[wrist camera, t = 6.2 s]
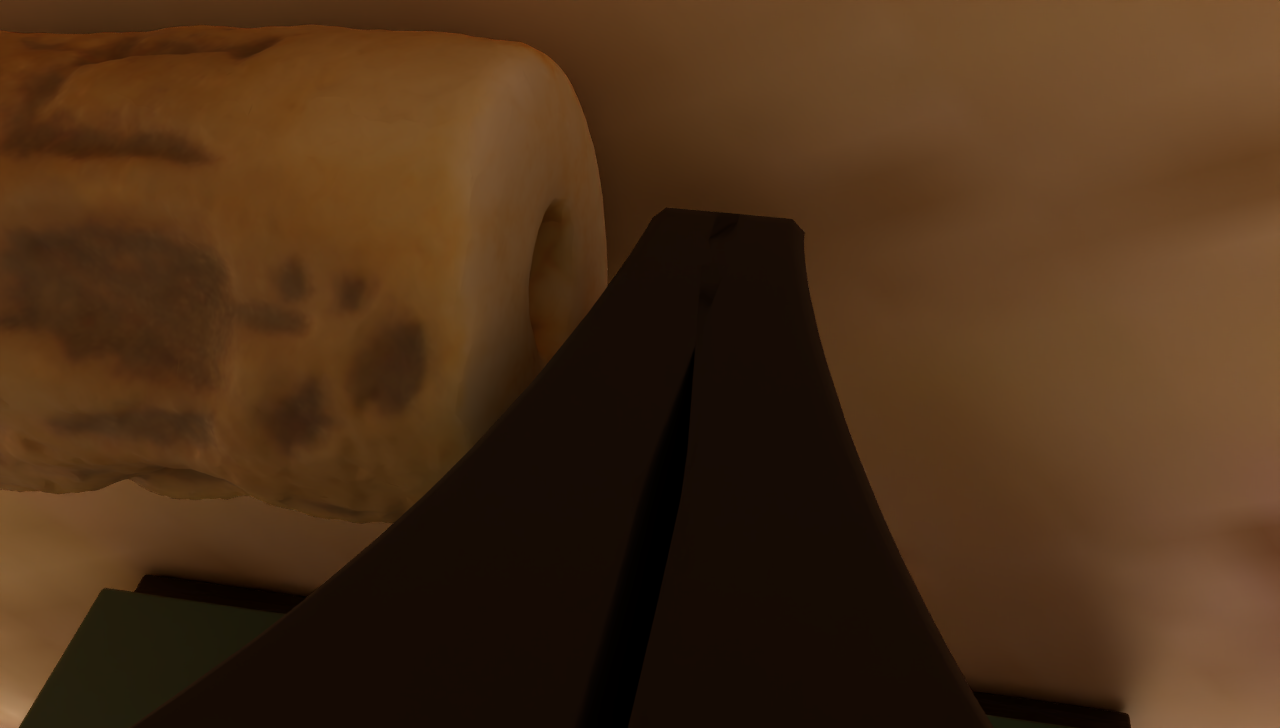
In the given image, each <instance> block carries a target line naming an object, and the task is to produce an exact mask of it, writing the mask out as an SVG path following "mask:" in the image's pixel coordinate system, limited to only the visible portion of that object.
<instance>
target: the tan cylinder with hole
mask: <svg viewBox="0 0 1280 728" xmlns="http://www.w3.org/2000/svg"><path fill="white" fill-rule="evenodd" d="M607 285H608V269H607V244H606V231H605V219H604V206H603V195H602V189H601V182H600V177H599V170H598V165H597V160H596V155H595V149H594V145H593V142H592V139H591V136H590V133H589V129H588V125H587V121H586V118H585V116H584V113H583V111H582V108H581V105H580V102H579V99H578V97H577V95H576V93H575V91H574V88H573V86H572V84H571V82H570V81H569V79H568V77H567V76H566V75H565V73H564V72H563V70H562V69H561V68H560V66H559V65H558V64H556V63H555V62H554V61H553V60H552V59H551V58H550V57H548V56H547V55H546V54H544V53H543V52H541V51H539V50H537V49H535V48H533V47H531V46H529V45H527V44H525V43H523V42H519V41H516V42H514V41H506V40H495V39H491V38H482V37H474V36H468V35H465V34H458V33H450V32H447V33H446V32H434V31H421V32H416V31H390V30H384V29H372V30H359V29H351V28H345V27H339V26H323V25H316V24H315V25H298V26H268V27H261V28H236V27H227V26H208V25H195V26H182V27H169V28H164V29H160V30H154V31H149V32H123V33H114V32H101V33H88V34H52V33H17V32H8V31H3V30H0V489H3V490H10V491H18V492H24V491H42V492H47V493H54V494H66V493H80V492H86V491H95V490H100V489H102V488H105V487H107V486H109V485H111V484H113V483H116V482H118V481H121V480H124V479H130V480H132V481H134V482H135V483H137V484H138V485H139V486H141V487H143V488H145V489H147V490H149V491H150V492H154V493H156V494H159V495H162V496H168V497H170V498H173V499H190V500H202V499H218V498H220V499H231V498H234V497H238V496H242V495H244V496H252V497H253V498H255V499H257V500H261V501H263V502H265V503H266V504H269V505H273V506H277V507H281V508H285V509H290V510H295V511H299V512H302V513H305V514H307V515H309V516H313V517H316V518H323V519H334V520H343V521H348V522H352V523H359V524H363V523H371V522H383V523H394V522H396V521H397V520H398V519H399V518H400V517H401V516H402V515H403V514H404V513H405V512H406V511H407V510H409V509H410V508H411V507H412V506H413V505H414V504H415V503H416V502H417V501H418V500H419V499H421V498H422V497H423V496H424V495H425V494H426V493H427V492H428V491H429V490H430V489H431V488H432V487H433V486H434V485H435V484H436V483H437V482H438V481H439V480H440V479H441V478H442V477H443V476H444V475H445V474H446V473H447V472H448V471H449V470H450V469H451V468H452V467H453V466H454V465H455V464H456V463H457V462H458V461H459V460H460V459H461V458H462V457H463V456H464V455H465V454H466V453H467V452H468V451H469V450H470V449H471V448H472V447H473V446H474V445H475V444H476V443H477V442H478V440H479V439H480V438H481V437H482V436H483V435H484V434H485V433H486V432H487V431H488V430H489V428H490V427H491V426H492V425H493V424H494V423H495V422H496V421H497V420H498V419H499V417H500V416H501V415H502V414H503V413H504V412H505V411H506V410H507V409H508V408H509V407H510V405H511V404H512V403H513V402H514V401H515V400H516V399H517V398H518V397H519V396H520V394H521V393H522V392H523V391H524V390H525V389H526V388H527V387H528V386H529V385H530V383H531V382H532V381H533V380H534V379H535V378H536V376H537V375H538V374H539V373H540V372H541V371H542V369H543V368H544V367H545V366H546V365H547V363H548V362H549V361H550V360H551V358H552V357H553V356H554V355H555V353H556V352H557V351H558V350H559V348H560V347H561V346H562V345H563V343H564V342H565V341H566V340H567V338H568V337H569V336H570V335H571V333H572V332H573V331H574V330H575V328H576V327H577V326H578V325H579V323H580V322H581V321H582V320H583V318H584V317H585V316H586V315H587V313H588V312H589V311H590V310H591V308H592V307H593V305H594V304H595V303H596V301H597V300H598V299H599V297H600V296H601V295H602V293H603V292H604V291H605V289H606V288H607Z"/></svg>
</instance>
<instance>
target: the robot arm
mask: <svg viewBox="0 0 1280 728" xmlns="http://www.w3.org/2000/svg"><path fill="white" fill-rule="evenodd" d="M804 234H805V232H804V231H803V230H802V229H801V228H800V227H799V226H798V225H797V224H796V222H795V221H794V220H793V219H786V218H775V217H764V216H753V215H742V214H731V213H720V212H710V211H699V210H688V209H677V208H665V209H664V210H662V211H661V212H660V213H658V214H657V215H656V216H654V217H653V218H652V220H651V221H650V223H649V225H648V226H647V228H646V230H645V232H644V233H643V235H642V236H641V238H640V240H639V241H638V243H637V244H636V246H635V247H634V249H633V250H632V252H631V254H630V255H629V257H628V258H627V259H626V261H625V262H624V264H623V265H622V267H621V268H620V270H619V271H618V273H617V274H616V275H615V277H614V278H613V280H612V281H611V282H610V284H609V285H608V286H607V288H606V289H605V291H604V292H603V293H602V295H601V296H600V297H599V299H598V300H597V301H596V303H595V304H594V305H593V307H592V308H591V310H590V311H589V312H588V313H587V315H586V316H585V317H584V318H583V320H582V321H581V322H580V323H579V325H578V326H577V327H576V328H575V330H574V331H573V332H572V333H571V335H570V336H569V337H568V338H567V340H566V341H565V342H564V343H563V345H562V346H561V347H560V348H559V350H558V351H557V352H556V353H555V355H554V356H553V357H552V358H551V360H550V361H549V362H548V363H547V365H546V366H545V367H544V368H543V369H542V371H541V372H540V373H539V374H538V375H537V376H536V378H535V379H534V380H533V381H532V382H531V383H530V385H529V386H528V387H527V388H526V389H525V390H524V391H523V392H522V393H521V394H520V396H519V397H518V398H517V399H516V400H515V401H514V402H513V403H512V404H511V405H510V407H509V408H508V409H507V410H506V411H505V412H504V413H503V414H502V415H501V416H500V417H499V419H498V420H497V421H496V422H495V423H494V424H493V425H492V426H491V427H490V428H489V430H488V431H487V432H486V433H485V434H484V435H483V436H482V437H481V438H480V439H479V440H478V442H477V443H476V444H475V445H474V446H473V447H472V448H471V449H470V450H469V451H468V452H467V453H466V454H465V455H464V456H463V457H462V458H461V459H460V460H459V461H458V462H457V463H456V464H455V465H454V466H453V467H452V468H451V469H450V470H449V471H448V472H447V473H446V474H445V475H444V476H443V477H442V478H441V479H440V480H439V481H438V482H437V483H436V484H435V485H434V486H433V487H432V488H431V489H430V490H429V491H428V492H427V493H426V494H425V495H424V496H423V497H422V498H421V499H419V500H418V501H417V502H416V503H415V504H414V505H413V506H412V507H411V508H410V509H409V510H407V511H406V512H405V513H404V514H403V515H402V516H401V517H400V518H399V519H398V520H397V521H396V522H394V523H393V524H392V525H391V526H390V527H389V528H388V529H387V530H386V531H385V532H384V533H382V534H381V535H380V536H379V537H378V538H377V539H376V540H375V541H373V542H372V543H371V544H370V545H369V546H368V547H366V548H365V549H364V550H363V551H362V552H360V553H359V554H358V555H357V556H356V557H354V558H353V559H352V560H351V561H350V562H348V563H347V564H346V565H345V566H344V567H342V568H341V569H340V570H339V571H338V572H337V573H335V574H334V575H333V576H332V577H331V578H329V579H328V580H327V581H326V582H325V583H323V584H322V585H321V586H320V587H319V588H317V589H316V590H315V591H314V592H313V593H311V594H310V595H309V596H308V597H307V598H305V599H304V600H303V601H302V602H301V603H299V604H298V605H297V606H295V607H294V608H293V609H292V610H290V611H289V612H288V613H287V614H285V615H284V616H283V617H282V618H280V619H279V620H278V621H276V622H275V623H274V624H273V625H271V626H270V627H269V628H267V629H266V630H265V631H263V632H262V633H261V634H260V635H258V636H257V637H256V638H254V639H253V640H252V641H250V642H249V643H248V644H246V645H245V646H243V647H242V648H241V649H239V650H238V651H236V652H235V653H234V654H232V655H231V656H229V657H228V658H227V659H225V660H224V661H222V662H221V663H220V664H218V665H217V666H215V667H214V668H213V669H211V670H210V671H208V672H207V673H205V674H204V675H203V676H201V677H200V678H198V679H197V680H196V681H194V682H193V683H191V684H190V685H189V686H187V687H186V688H184V689H183V690H182V691H180V692H179V693H177V694H176V695H175V696H173V697H172V698H170V699H169V700H168V701H166V702H165V703H163V704H162V705H161V706H159V707H158V708H156V709H155V710H153V711H152V712H151V713H149V714H148V715H146V716H145V717H144V718H142V719H141V720H139V721H138V722H137V723H135V724H134V725H132V726H131V727H130V728H994V727H993V725H992V724H991V722H990V720H989V719H988V717H987V715H986V714H985V712H984V711H983V709H982V707H981V706H980V704H979V702H978V701H977V699H976V698H975V696H974V694H973V692H972V691H971V689H970V687H969V685H968V684H967V682H966V680H965V678H964V676H963V674H962V673H961V671H960V669H959V667H958V665H957V663H956V662H955V660H954V658H953V656H952V654H951V652H950V650H949V649H948V647H947V645H946V643H945V641H944V639H943V638H942V636H941V634H940V632H939V630H938V628H937V627H936V625H935V623H934V621H933V619H932V617H931V615H930V613H929V611H928V609H927V607H926V605H925V603H924V601H923V599H922V597H921V595H920V593H919V591H918V589H917V587H916V585H915V583H914V581H913V579H912V577H911V575H910V573H909V571H908V569H907V567H906V565H905V563H904V561H903V559H902V557H901V554H900V552H899V550H898V548H897V546H896V544H895V541H894V539H893V537H892V535H891V533H890V530H889V528H888V526H887V524H886V521H885V519H884V517H883V514H882V512H881V510H880V508H879V505H878V503H877V500H876V498H875V495H874V493H873V490H872V488H871V486H870V483H869V481H868V478H867V476H866V473H865V471H864V468H863V466H862V464H861V461H860V459H859V456H858V453H857V451H856V448H855V445H854V443H853V440H852V437H851V434H850V432H849V429H848V426H847V424H846V421H845V418H844V414H843V411H842V408H841V405H840V402H839V399H838V396H837V393H836V390H835V387H834V384H833V380H832V377H831V374H830V371H829V368H828V365H827V362H826V358H825V355H824V351H823V348H822V344H821V340H820V337H819V333H818V328H817V324H816V320H815V315H814V311H813V307H812V302H811V297H810V292H809V286H808V281H807V273H806V266H805V254H804Z"/></svg>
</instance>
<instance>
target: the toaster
mask: <svg viewBox="0 0 1280 728" xmlns="http://www.w3.org/2000/svg"><path fill="white" fill-rule="evenodd" d="M305 598H307V597H301V596H294V595H287V594H280V593H273V592H266V591H259V590H252V589H245V588H238V587H231V586H224V585H216V584H209V583H202V582H195V581H188V580H181V579H174V578H167V577H160V576H153V575H144V576H143V577H142V579H141V581H140V583H139V584H138V586H137V588H136V590H135V591H134V592H130V591H123V590H116V589H109V588H103V589H102V590H101V592H100V593H99V595H98V597H97V598H96V600H95V602H94V603H93V605H92V607H91V608H90V610H89V612H88V613H87V615H86V617H85V618H84V620H83V622H82V623H81V625H80V627H79V628H78V630H77V632H76V633H75V635H74V637H73V638H72V640H71V642H70V643H69V645H68V647H67V648H66V650H65V652H64V653H63V655H62V657H61V658H60V660H59V662H58V663H57V665H56V667H55V668H54V670H53V671H52V673H51V675H50V676H49V678H48V680H47V681H46V683H45V685H44V686H43V688H42V690H41V691H40V693H39V695H38V696H37V698H36V700H35V701H34V703H33V705H32V706H31V708H30V710H29V711H28V713H27V715H26V716H25V718H24V720H23V721H22V723H21V725H20V726H19V728H130V727H131V726H132V725H134V724H135V723H137V722H138V721H139V720H141V719H142V718H144V717H145V716H146V715H148V714H149V713H151V712H152V711H153V710H155V709H156V708H158V707H159V706H161V705H162V704H163V703H165V702H166V701H168V700H169V699H170V698H172V697H173V696H175V695H176V694H177V693H179V692H180V691H182V690H183V689H184V688H186V687H187V686H189V685H190V684H191V683H193V682H194V681H196V680H197V679H198V678H200V677H201V676H203V675H204V674H205V673H207V672H208V671H210V670H211V669H213V668H214V667H215V666H217V665H218V664H220V663H221V662H222V661H224V660H225V659H227V658H228V657H229V656H231V655H232V654H234V653H235V652H236V651H238V650H239V649H241V648H242V647H243V646H245V645H246V644H248V643H249V642H250V641H252V640H253V639H254V638H256V637H257V636H258V635H260V634H261V633H262V632H263V631H265V630H266V629H267V628H269V627H270V626H271V625H273V624H274V623H275V622H276V621H278V620H279V619H280V618H282V617H283V616H284V615H285V614H287V613H288V612H289V611H290V610H292V609H293V608H294V607H295V606H297V605H298V604H299V603H301V602H302V601H303V600H304V599H305ZM972 692H973V691H972ZM973 694H974V696H975V698H976V699H977V701H978V702H979V704H980V706H981V707H982V709H983V711H984V712H985V714H986V715H987V717H988V719H989V720H990V722H991V724H992V725H993V727H994V728H1131V724H1130V717H1129V715H1128V714H1126V713H1122V712H1115V711H1107V710H1100V709H1093V708H1086V707H1079V706H1072V705H1065V704H1058V703H1051V702H1044V701H1037V700H1030V699H1023V698H1016V697H1008V696H1001V695H994V694H987V693H980V692H973Z"/></svg>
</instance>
